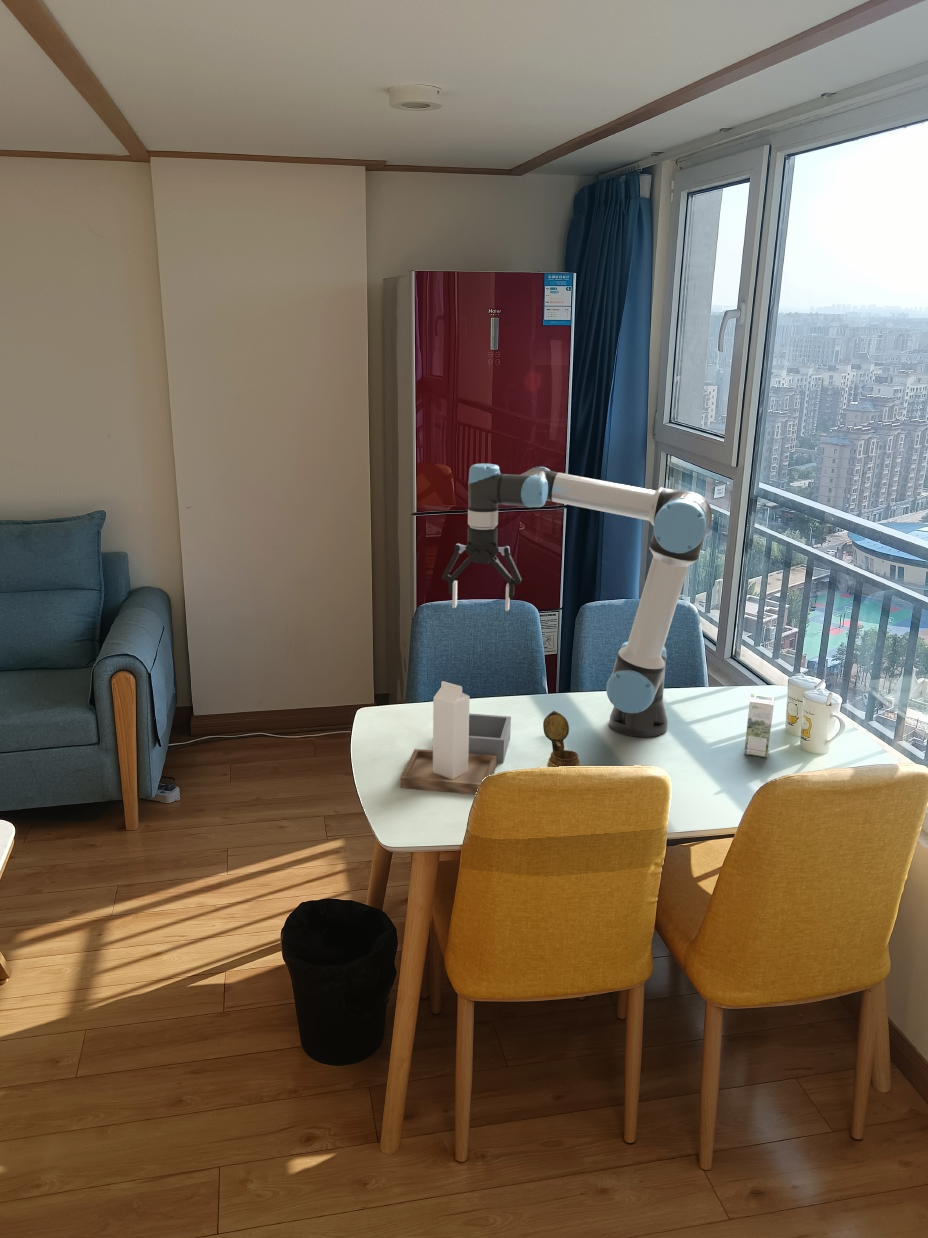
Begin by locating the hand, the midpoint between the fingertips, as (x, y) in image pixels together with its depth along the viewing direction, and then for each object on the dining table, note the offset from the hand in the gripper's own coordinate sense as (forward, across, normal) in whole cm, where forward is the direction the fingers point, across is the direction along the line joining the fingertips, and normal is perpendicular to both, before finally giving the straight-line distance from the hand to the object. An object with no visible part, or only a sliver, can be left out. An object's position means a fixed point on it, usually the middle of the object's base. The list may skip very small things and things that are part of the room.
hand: (480, 608), depth 250 cm
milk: (+31, +2, +33) cm, 45 cm away
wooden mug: (+32, -24, +38) cm, 55 cm away
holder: (+32, -2, +16) cm, 36 cm away
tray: (+32, +2, +33) cm, 46 cm away
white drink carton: (+32, -71, +5) cm, 78 cm away
